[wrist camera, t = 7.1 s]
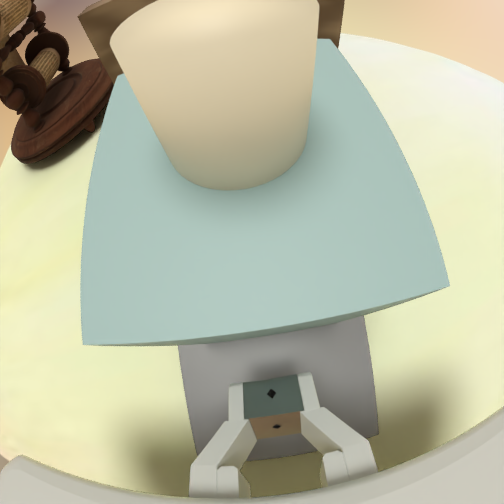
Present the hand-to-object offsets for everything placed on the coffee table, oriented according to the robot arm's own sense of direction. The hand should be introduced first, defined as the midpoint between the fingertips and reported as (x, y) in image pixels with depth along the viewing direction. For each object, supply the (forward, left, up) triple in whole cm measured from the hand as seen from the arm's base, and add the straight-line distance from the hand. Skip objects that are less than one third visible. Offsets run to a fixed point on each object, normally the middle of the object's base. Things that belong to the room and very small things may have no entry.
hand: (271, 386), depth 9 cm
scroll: (+18, -26, -5) cm, 32 cm away
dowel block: (0, -6, -4) cm, 7 cm away
